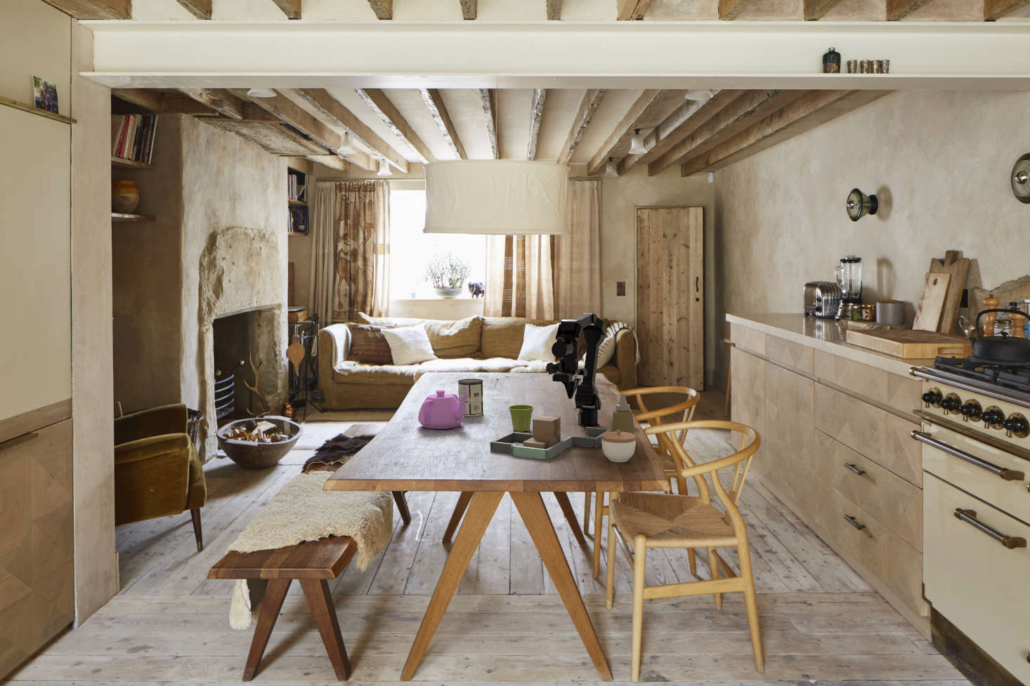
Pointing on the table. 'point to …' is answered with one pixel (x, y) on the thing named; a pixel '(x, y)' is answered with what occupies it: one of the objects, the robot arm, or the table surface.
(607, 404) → the table surface
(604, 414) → the table surface
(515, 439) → the bent walled tray
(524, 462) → the table surface
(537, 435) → the walnut block
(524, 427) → the plant pot
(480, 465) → the table surface
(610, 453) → the lidded jar
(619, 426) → the squeeze bottle
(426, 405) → the teapot
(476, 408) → the coffee can
